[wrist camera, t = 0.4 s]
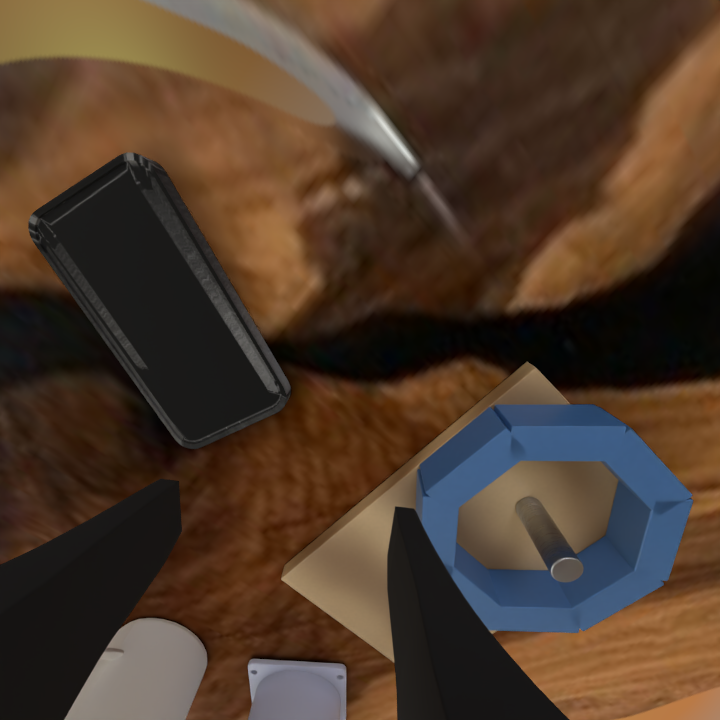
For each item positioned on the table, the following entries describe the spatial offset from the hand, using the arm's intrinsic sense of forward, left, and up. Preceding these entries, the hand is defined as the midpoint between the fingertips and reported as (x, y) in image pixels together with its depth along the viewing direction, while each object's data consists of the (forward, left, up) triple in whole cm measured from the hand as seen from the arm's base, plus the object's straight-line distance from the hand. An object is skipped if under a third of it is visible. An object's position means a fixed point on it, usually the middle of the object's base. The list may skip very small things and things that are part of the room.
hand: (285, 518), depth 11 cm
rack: (-10, -9, -10) cm, 17 cm away
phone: (+5, +9, -10) cm, 14 cm away
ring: (-6, -13, -9) cm, 17 cm away
